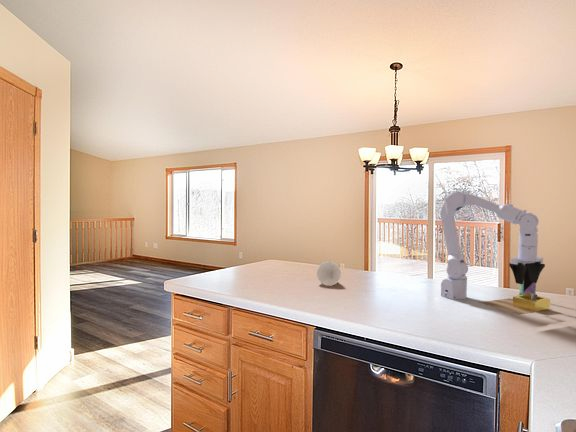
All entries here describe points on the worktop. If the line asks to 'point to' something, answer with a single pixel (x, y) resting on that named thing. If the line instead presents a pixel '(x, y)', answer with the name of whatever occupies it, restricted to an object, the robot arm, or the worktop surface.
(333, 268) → the grey rounded lump
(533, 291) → the spray can
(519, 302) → the golden square frame
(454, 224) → the robot arm
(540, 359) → the worktop surface
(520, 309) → the board
